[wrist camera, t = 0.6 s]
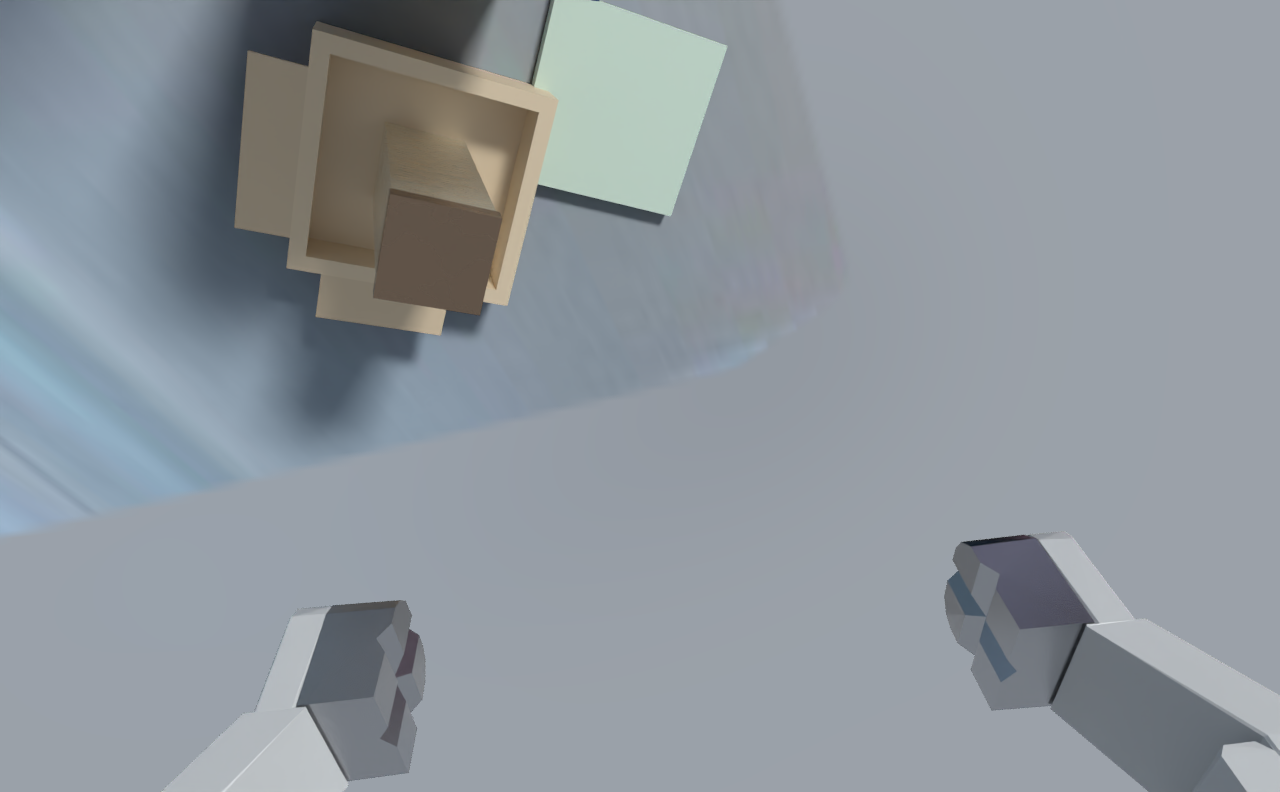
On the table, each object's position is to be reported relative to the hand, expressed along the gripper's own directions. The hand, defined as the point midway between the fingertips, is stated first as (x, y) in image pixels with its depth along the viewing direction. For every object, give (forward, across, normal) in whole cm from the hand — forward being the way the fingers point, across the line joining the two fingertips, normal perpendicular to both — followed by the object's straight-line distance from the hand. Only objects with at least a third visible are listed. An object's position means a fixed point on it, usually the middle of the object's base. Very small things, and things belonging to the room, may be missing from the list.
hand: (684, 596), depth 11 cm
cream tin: (+42, +12, +6) cm, 45 cm away
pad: (+46, -1, +5) cm, 46 cm away
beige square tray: (+43, +15, +7) cm, 46 cm away
